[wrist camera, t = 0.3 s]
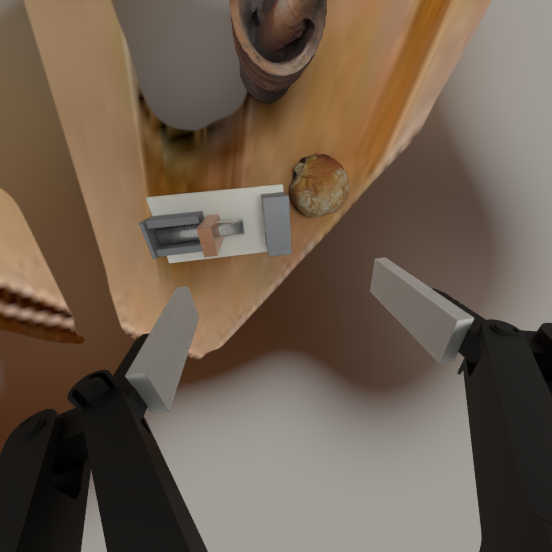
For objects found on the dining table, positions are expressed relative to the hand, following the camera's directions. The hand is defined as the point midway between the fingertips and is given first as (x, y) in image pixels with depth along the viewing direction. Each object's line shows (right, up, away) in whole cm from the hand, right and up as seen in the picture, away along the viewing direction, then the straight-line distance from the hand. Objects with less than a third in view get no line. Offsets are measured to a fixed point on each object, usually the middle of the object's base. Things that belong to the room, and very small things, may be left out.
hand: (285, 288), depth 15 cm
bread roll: (+6, +17, +23) cm, 30 cm away
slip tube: (-14, +10, +23) cm, 28 cm away
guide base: (-11, +10, +24) cm, 28 cm away
